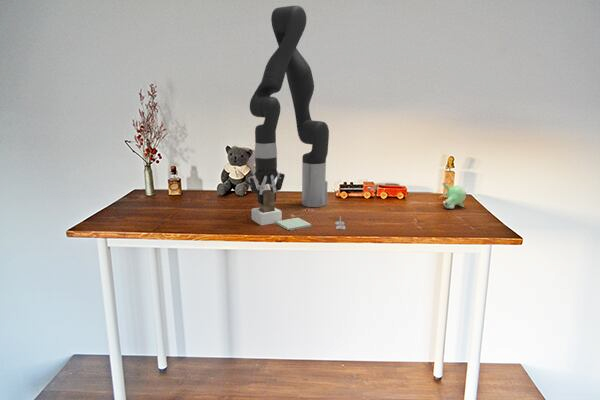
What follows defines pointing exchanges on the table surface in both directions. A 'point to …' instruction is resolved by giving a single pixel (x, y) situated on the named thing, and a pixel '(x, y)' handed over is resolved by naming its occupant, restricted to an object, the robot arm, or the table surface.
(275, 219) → the pocket holder
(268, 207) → the walnut block
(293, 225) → the green mat
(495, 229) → the table surface
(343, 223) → the grey eared piece
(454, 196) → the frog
